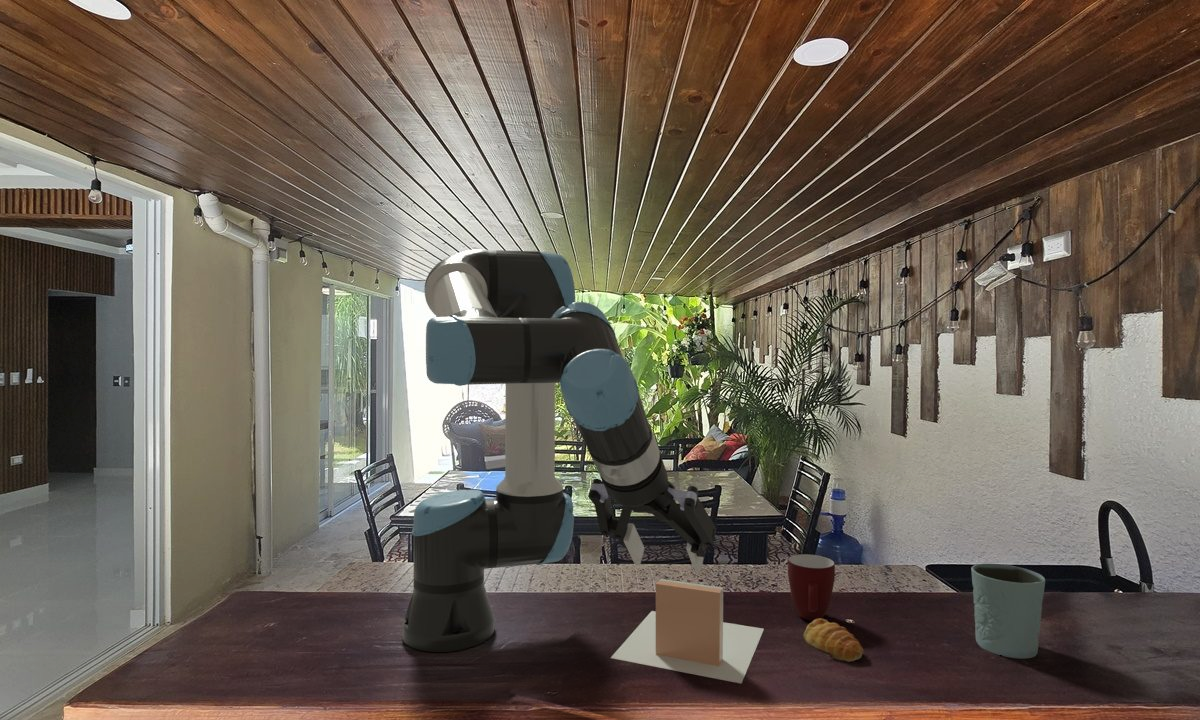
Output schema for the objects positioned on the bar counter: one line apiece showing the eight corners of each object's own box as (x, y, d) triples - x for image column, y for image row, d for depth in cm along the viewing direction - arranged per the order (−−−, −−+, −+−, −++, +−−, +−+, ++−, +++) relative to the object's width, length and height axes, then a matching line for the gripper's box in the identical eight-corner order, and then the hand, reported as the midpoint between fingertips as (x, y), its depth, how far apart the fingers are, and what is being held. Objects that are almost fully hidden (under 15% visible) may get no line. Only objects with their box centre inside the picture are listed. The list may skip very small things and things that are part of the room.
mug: (843, 632, 112) (843, 574, 112) (794, 630, 113) (794, 572, 113) (828, 608, 123) (829, 555, 122) (784, 606, 124) (784, 553, 123)
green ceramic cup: (963, 646, 107) (964, 572, 107) (979, 627, 114) (980, 558, 114) (1037, 667, 100) (1038, 588, 100) (1049, 645, 107) (1050, 571, 107)
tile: (655, 654, 103) (655, 583, 103) (660, 647, 105) (660, 578, 105) (719, 666, 99) (719, 593, 99) (722, 659, 101) (723, 587, 101)
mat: (610, 661, 102) (610, 657, 102) (651, 614, 120) (651, 610, 120) (741, 687, 94) (741, 683, 94) (764, 632, 112) (764, 628, 112)
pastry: (874, 659, 103) (874, 634, 103) (842, 668, 100) (842, 643, 100) (828, 635, 111) (828, 613, 111) (798, 644, 108) (798, 621, 108)
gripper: (539, 482, 79) (592, 575, 94) (712, 497, 70) (740, 596, 86) (558, 432, 83) (607, 528, 98) (722, 441, 75) (748, 544, 90)
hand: (669, 560), depth 92 cm, fingers open, 8 cm apart
